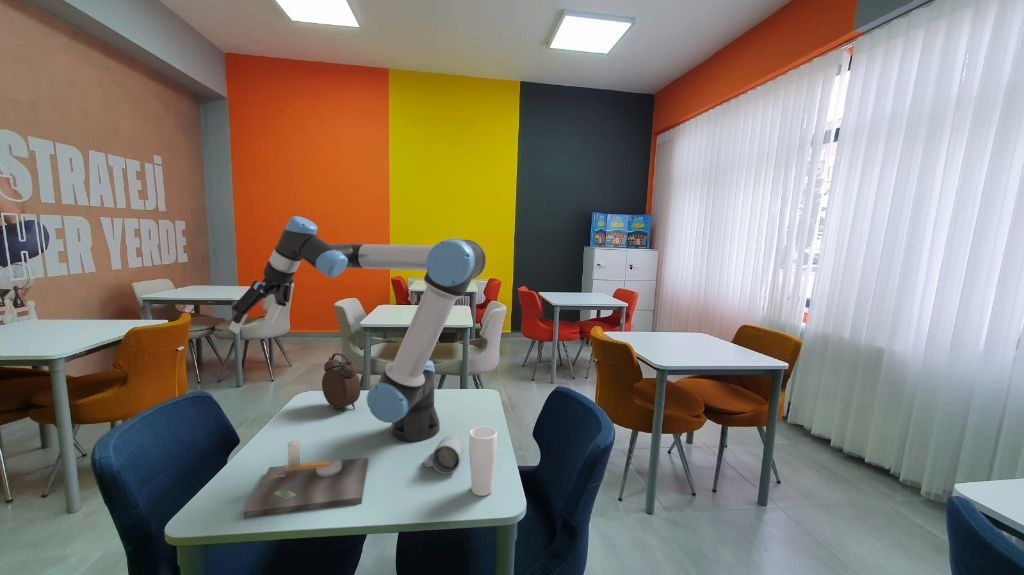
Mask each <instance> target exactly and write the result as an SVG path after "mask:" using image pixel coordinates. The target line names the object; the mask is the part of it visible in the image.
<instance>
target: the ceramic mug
mask: <svg viewBox="0 0 1024 575" xmlns="http://www.w3.org/2000/svg"><path fill="white" fill-rule="evenodd" d="M464 453H465V445H464V443H463V441H462V439H461V438H460V437H458V436H456V435H447V436H444V437H443V438H442V439H441V440H440V441H439V443H438V444H437V445H436V446H435V449H434V450H433V452H432V453H430V454H428V455H426V457H425V458H424V459H423V460H422V461H423V465H424V467H425V468H431V467H433V469H434V470H435V471H436V472H438V473H440V474H444V475H449V474H452V473H454V472H456V471H457V469H458V468H459V467H460V464H461V461H462V457H464Z"/></svg>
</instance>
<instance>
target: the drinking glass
mask: <svg viewBox="0 0 1024 575" xmlns="http://www.w3.org/2000/svg"><path fill="white" fill-rule="evenodd" d="M497 450H498V431H497V430H496V429H495V428H494V427H491V426H483V425H482V426H476V427H473V428H471V429H470V431H469V436H468V451H469V452H468V453H469V454H468V455H469V465H470V480H471V481H470V482H471V486H470V487H471V492H472V493H473V494H474V495H476V496H479V497H486V496H488V495H490V494H492V492H493V490H494V478H495V471H496V470H495V469H496V460H497V452H498V451H497Z"/></svg>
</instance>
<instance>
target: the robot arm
mask: <svg viewBox="0 0 1024 575" xmlns="http://www.w3.org/2000/svg"><path fill="white" fill-rule="evenodd" d="M317 231H318V226H317V225H316V223H315V222H313V221H311V220H310V219H307V218H305V217H301V216H297V215H296V216H295V215H294V216H292V217H290V218H289V220H288V222H287V224H286V225H285V226H284V227H283V230H282V232H281V235H280V237H279V240H278V241H277V244H276V245H275V247H274V249H273V251H272V254H271V255H270V257H269V260H268V261H267V263H266V264H265V267H264V269H263V272H262V273H263V275H264V278H263V279H262V281H258V280H254V281H253V282H252V284H251V285H250V287H249V288H248V289H247V290H246V292H245V293H244V294H243V295H242V296H241V297H240V299H239V300H238V301H236V303H234V305H233V306H232V307H231V310H232V311H233V312H235V315H234V316H233V318H232V321H231V323H230V325H229V327H228V329H229V330H230V331H232V332H233V333H234V334H239V333H240V330H241V329H242V327H243V325H244V324H245V321H246V319H247V317H248V312H249V311H250V310H252V309H253V308H254V307H255V306H256V305H257V304H258V303H259V302H260V301H262V300H263V299H267V297H269V296H271V295H273V296H274V300H275V301H272V303H271V305H270V307H269V309H268V311H267V312H266V313H265V316H264V320H265V321H267V322H268V323H270V324H274V321H275V319H276V318H277V316H278V314H279V312H280V310H281V308H282V307H286V306H287V303H289V302H290V298H291V291H292V285H293V283H294V279H293V278H294V276H295V273H296V272H297V270H298V269H299V266H300V264H301V262H302V260H304V261H305V262H306V263H308V264H309V265H311V266H312V267H313V268H315V269H316V270H317V271H318V272H319V273H321V274H323V275H325V276H326V277H329V278H331V279H333V278H337V277H338V276H340V275H341V274H342V273H343V272H344V271H345V270H346V269H370V270H374V269H376V270H397V271H398V270H400V271H401V270H402V271H420V272H421V271H424V272H425V275H424V278H423V281H424V284H425V286H426V287H425V290H424V291H423V294H422V295H421V299H420V301H419V303H418V306H417V307H416V310H415V312H414V315H413V316H412V320H411V322H409V323H410V324H409V326H408V329H407V331H406V333H405V335H404V337H403V340H402V341H401V344H400V346H399V349H398V351H397V353H396V355H395V358H394V360H393V361H392V362H389V363H387V364H386V365H385V366H384V368H383V371H382V373H381V376H380V378H379V380H378V382H377V383H375V384H373V386H371V388H370V389H369V390H368V392H367V395H366V404H367V407H368V408H369V411H370V413H371V415H373V417H374V418H376V419H377V420H378V421H381V422H382V423H388V424H391V425H390V433H391V436H392V437H393V438H395V439H397V440H400V441H403V442H404V441H405V442H418V441H424V440H427V439H430V438H433V437H434V436H436V435H437V434H438V433H439V431H440V428H441V427H440V426H441V425H440V424H441V423H440V419H439V416H438V412H437V409H436V407H435V374H436V370H435V364H434V361H432V360H430V357H431V355H432V354H433V351H434V349H435V347H436V345H437V342H438V340H439V337H440V336H441V333H442V331H443V330H444V327H445V325H446V323H447V320H448V319H449V316H450V314H451V312H452V309H453V307H454V305H455V303H456V301H457V300H458V299H461V298H463V297H465V294H467V293H466V292H467V290H468V288H469V286H470V284H471V282H472V280H474V279H476V278H477V277H478V276H479V277H480V275H481V274H482V273H483V271H484V270H485V267H486V263H487V258H486V253H485V251H484V249H483V248H482V247H481V245H480V244H479V243H477V242H476V241H473V240H471V239H458V238H449V239H445V240H442V241H440V242H438V243H436V244H434V245H417V244H416V245H414V244H410V245H409V244H371V243H369V244H368V243H366V244H365V243H364V244H361V243H343V244H342V243H328V242H326V241H324V240H323V239H321V238H320V237H319V236H317Z"/></svg>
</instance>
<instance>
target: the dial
mask: <svg viewBox="0 0 1024 575" xmlns="http://www.w3.org/2000/svg"><path fill="white" fill-rule="evenodd" d="M300 446H301V444H300V440H295V439H294V440H290V441H289V442H287V459H288V460H287V462H288V464H286V465H285V466H286V467H285V471H292V470H301V469H311V468H316V474H317V476H319V477H331V476H334V475H337V474H338V473H340V472H341V470H342V462H341V461H340V460H341V459H337V458H331V459H330V458H329V459H325V460H322V461H315V462H314V461H313V462H304V463H301V452H300V451H301V450H300V448H301V447H300Z"/></svg>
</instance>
